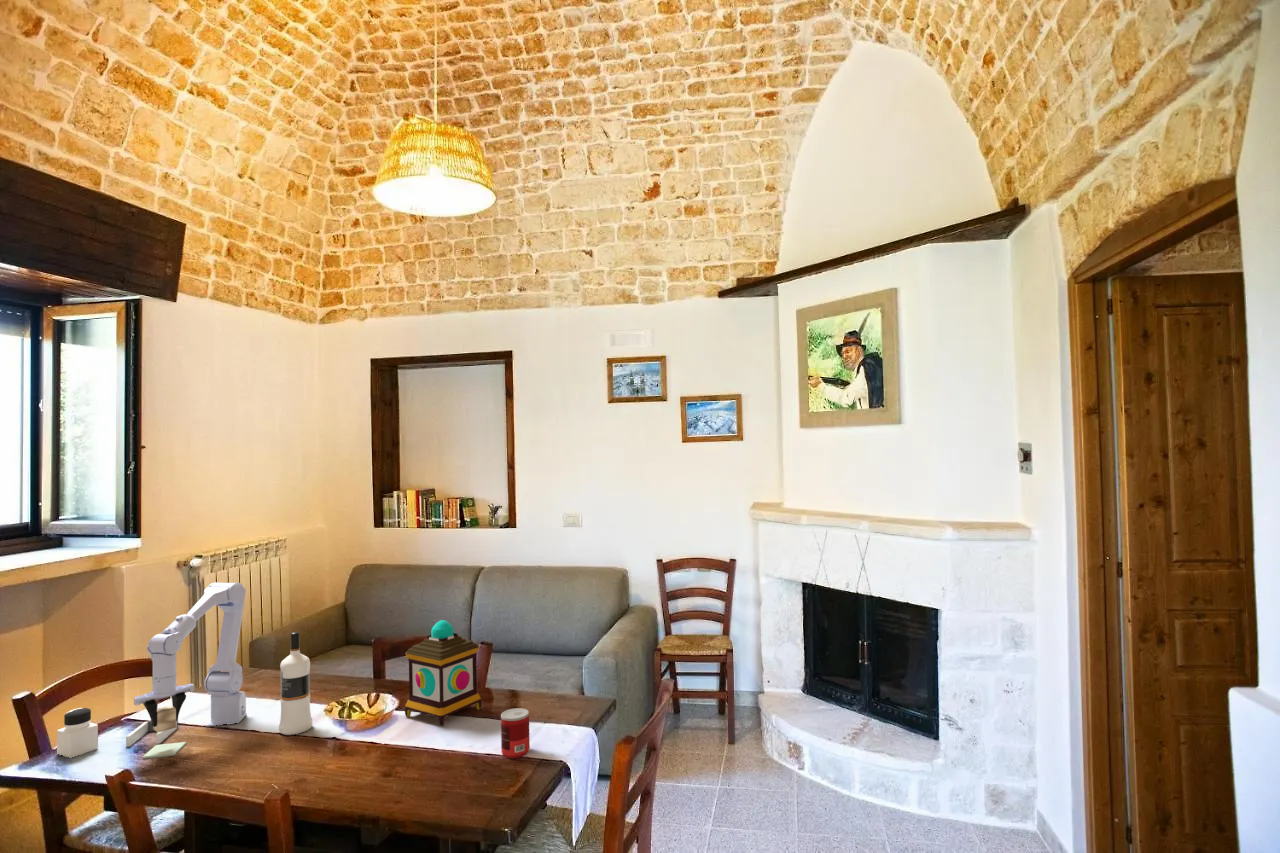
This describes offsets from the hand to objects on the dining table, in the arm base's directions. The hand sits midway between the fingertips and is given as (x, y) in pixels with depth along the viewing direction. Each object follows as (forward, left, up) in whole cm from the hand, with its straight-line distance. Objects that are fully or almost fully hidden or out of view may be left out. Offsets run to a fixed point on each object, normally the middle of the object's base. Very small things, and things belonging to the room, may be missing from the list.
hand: (164, 722), depth 203 cm
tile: (0, 0, -8) cm, 8 cm away
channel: (+8, -12, -8) cm, 17 cm away
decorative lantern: (-78, -9, -8) cm, 78 cm away
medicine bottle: (+25, -7, -8) cm, 28 cm away
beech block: (0, 0, -2) cm, 2 cm away
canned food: (-100, +27, -8) cm, 104 cm away
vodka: (-34, -7, -8) cm, 35 cm away
